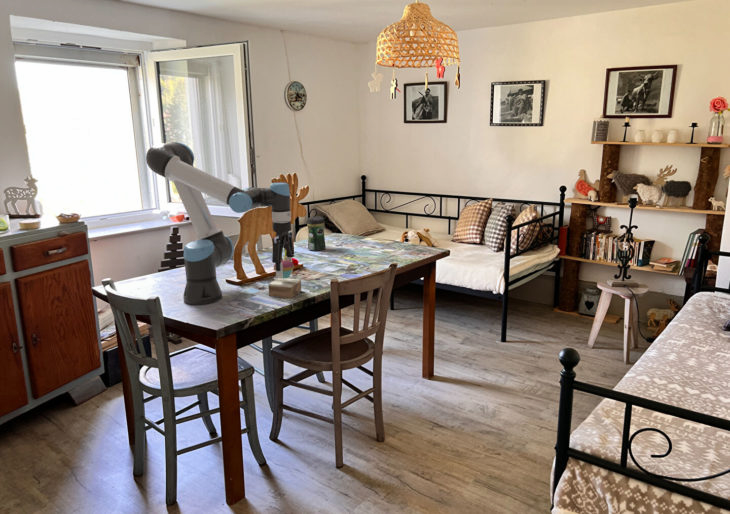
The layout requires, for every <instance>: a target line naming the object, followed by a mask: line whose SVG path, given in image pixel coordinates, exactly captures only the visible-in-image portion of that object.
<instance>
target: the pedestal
mask: <svg viewBox="0 0 730 514" xmlns="http://www.w3.org/2000/svg"><path fill="white" fill-rule="evenodd" d="M267 286H268V296H269V297H276V298H277V297H278V298H287V299H288V298H290V299H292V298H293V297H295V296H296V295H297V294H299V293H300V292H302V279H299V278H290V277H289V278H285V279H280V278H275V279H274V280H273V281H271V282H270V283H268V285H267Z"/></svg>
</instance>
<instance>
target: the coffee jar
mask: <svg viewBox="0 0 730 514" xmlns="http://www.w3.org/2000/svg"><path fill="white" fill-rule="evenodd" d="M306 225H307V229H308V232H307V233H308V236H307V237H308V238H307V248H308V249H307V250H309V251H311V252H313V251H315V252H316V251H318V252H319V251H323V250H325V249H326V248H327V247H326V240H325V239H326V238H325V218H324V216H311V217H308V218H306Z"/></svg>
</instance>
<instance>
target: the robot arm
mask: <svg viewBox="0 0 730 514" xmlns="http://www.w3.org/2000/svg"><path fill="white" fill-rule="evenodd" d="M145 161H146V164H147V166H148V168H149V170H151V171H152V172H154V173H155V174H157V175H159V176H161V177H163V178H165V179H167V180H168V181H170V182H172V183H173V184H174V187H175V189H176V191H177V194H178V196H179V198H180V199H181V203H182V205H183V207H184V209H185V211H186V213H187V216H188V218H189V220H190V222H191V224H192V227H193V229H194V231H195V234H196V235H197V236H196V239H195V240H192V241H190V242H188V243H186V244H185V246H184V247H183V258H184V260H183V261H184V268H185V269H184V271H185V279H186V280H185V281H186V283H185V288H184V292H183V297H182V298H183V302H184V303H186V304H188V305H197V306H198V305H200V306H201V305H209V304H212V303H217V302H219V301H221V300H222V299H223V292H222V289H221V287H220V284H219V282H218V279H217V268H219V267H220V266H222V265H225V264H227V263H228V262H229V261H230V260H231V259H232V257H233V256H234V253H235V245H234V243H233V241H232V240H231V238H229V237H228V236H226V235H225V234H224V232H223V230H222V229H220V228H218V227H217V225H216V223H215V220H214V219H213V216H212V214H211V212H210V210H209V207H208V205H207V202H206V200H205V197H204V196H203V194H204V195H207V196H209V197H211V198H213V199H215V200H218V202H219V201H220V202H221V203H223V204H226V205H228V206H229V207H230V209H231V210H232V211H233V212H234V213H237V214H240V213H241V214H242V213H247V212H248V211H251V210H253V209H256V208H258V207H262V208H263V207H268V208H270V207H271V219H272V223H271V224H272V232H274V233H275V237H273V238H272V239H271V241H272V259H271V261H272V263H273V264H276V271H275V279H278V278H280V279H283V267H282V263H281V260H283V259H282V258H283V251H285V248H286V260H288V261H291V262H292V263H293V258H294V257H295V249H294V242H293V232H292V222H291V220H292V217H291V216H292V213H291V193H290V185H289V183H287V182H272V183H271V184H270V185H269V186H270V187H245V188H243V189H241V188H239V187H237V186H235V185H233V184H231V183H229V182H226V181H225V180H222V179H220V178H218V177H216V176H214V175H211V174H210V173H208V172H205V171H203V170H201V169H199V168H197V167H195V166H194V162H195V155H194V152H193V150H192V149H191V148H190V147H189V146H188V145H187V144H185V143H182V142H177V141H175V142H165V143H157V144H154V145H152V146H151V147H150V148H149V149H148V150H147V151H146V155H145ZM202 193H203V194H202ZM292 273H293V271H292V272H291V274H292Z"/></svg>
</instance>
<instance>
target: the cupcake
mask: <svg viewBox="0 0 730 514" xmlns="http://www.w3.org/2000/svg"><path fill="white" fill-rule="evenodd" d="M283 258H284V259H281V263H282V267H283V279H285V278H289V279H290V277H291V276H292V275H291V274H292V273H293V270H294V269H295V266H294V265H295V263H293V261H292V262H291V261H288V260H286V248H285V250H284V257H283ZM273 271H275V272H276V264H275V263H273ZM291 272H292V273H291Z"/></svg>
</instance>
